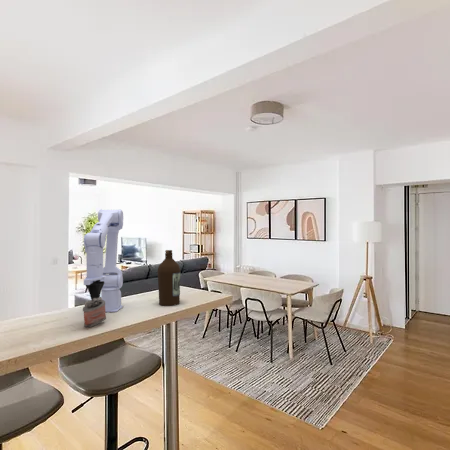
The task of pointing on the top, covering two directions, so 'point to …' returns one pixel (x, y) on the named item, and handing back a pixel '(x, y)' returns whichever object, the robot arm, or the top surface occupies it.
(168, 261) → the olive oil
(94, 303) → the lighter
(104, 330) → the top surface
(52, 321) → the top surface
